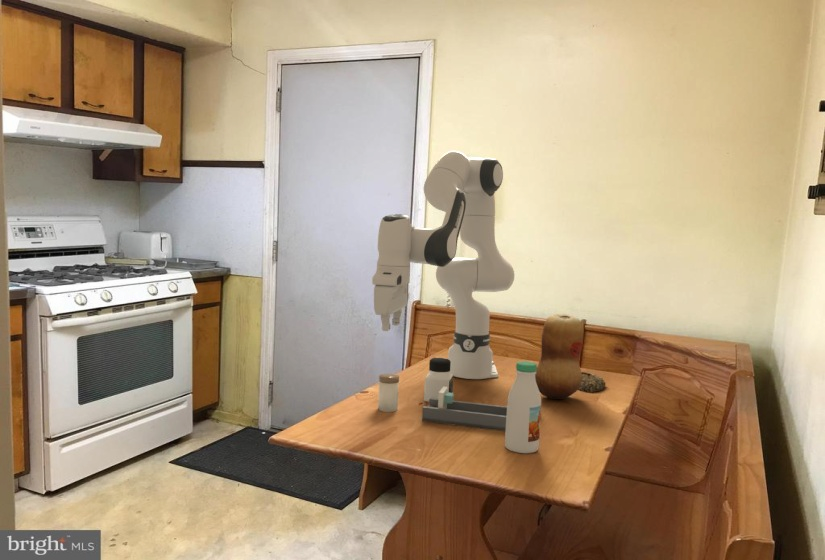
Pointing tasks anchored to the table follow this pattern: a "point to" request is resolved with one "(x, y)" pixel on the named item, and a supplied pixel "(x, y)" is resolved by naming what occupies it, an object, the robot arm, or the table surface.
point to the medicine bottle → (438, 378)
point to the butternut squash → (560, 357)
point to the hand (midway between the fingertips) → (391, 327)
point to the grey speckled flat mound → (591, 383)
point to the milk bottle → (523, 411)
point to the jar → (388, 392)
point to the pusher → (445, 398)
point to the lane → (466, 414)
